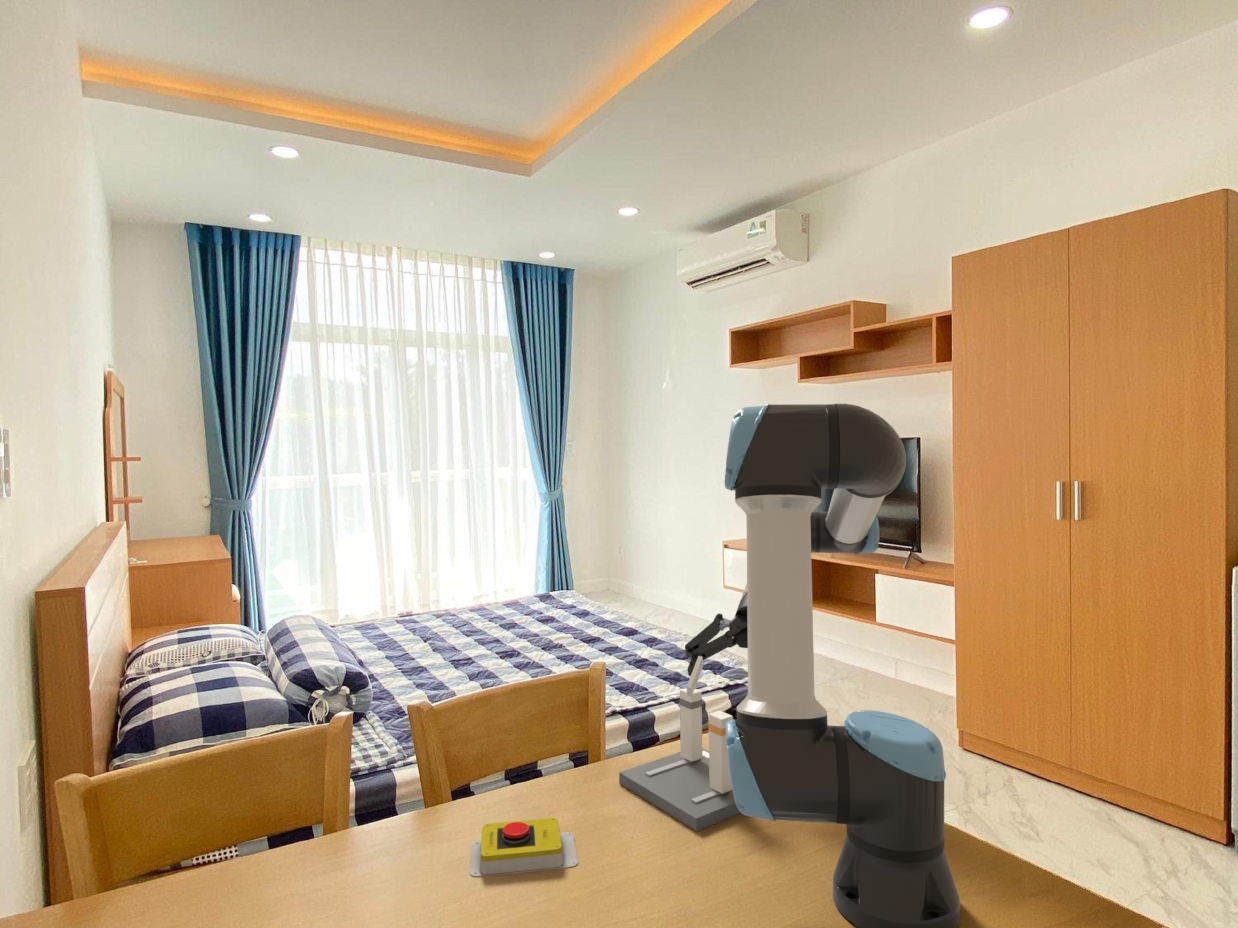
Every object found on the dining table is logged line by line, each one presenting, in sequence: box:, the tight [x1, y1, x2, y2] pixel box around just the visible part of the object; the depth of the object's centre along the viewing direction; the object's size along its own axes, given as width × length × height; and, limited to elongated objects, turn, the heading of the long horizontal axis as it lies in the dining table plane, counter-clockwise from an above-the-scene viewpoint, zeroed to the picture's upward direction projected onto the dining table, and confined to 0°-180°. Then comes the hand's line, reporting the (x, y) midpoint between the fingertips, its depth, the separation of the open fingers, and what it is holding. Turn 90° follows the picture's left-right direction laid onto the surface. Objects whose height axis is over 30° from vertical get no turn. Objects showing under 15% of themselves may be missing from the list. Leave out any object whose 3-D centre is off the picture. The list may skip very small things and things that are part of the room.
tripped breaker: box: [707, 710, 734, 794], centre depth 122 cm, size 3×3×12 cm
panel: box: [618, 748, 742, 832], centre depth 127 cm, size 18×20×2 cm
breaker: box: [679, 687, 703, 762], centre depth 134 cm, size 3×3×12 cm
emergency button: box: [469, 817, 579, 878], centre depth 109 cm, size 9×4×15 cm
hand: (727, 703), depth 126 cm, fingers open, 13 cm apart
